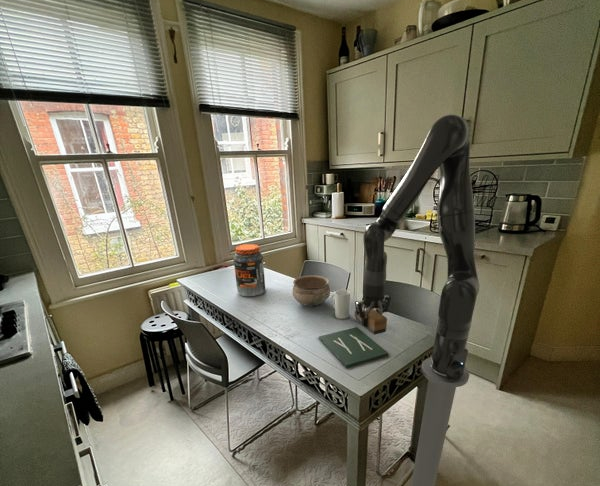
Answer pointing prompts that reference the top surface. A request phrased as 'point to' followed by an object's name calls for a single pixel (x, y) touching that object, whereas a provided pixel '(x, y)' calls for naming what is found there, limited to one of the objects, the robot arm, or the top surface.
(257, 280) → the supplement tub
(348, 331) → the slate board
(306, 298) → the cooking pot
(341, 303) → the mug
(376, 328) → the eraser
